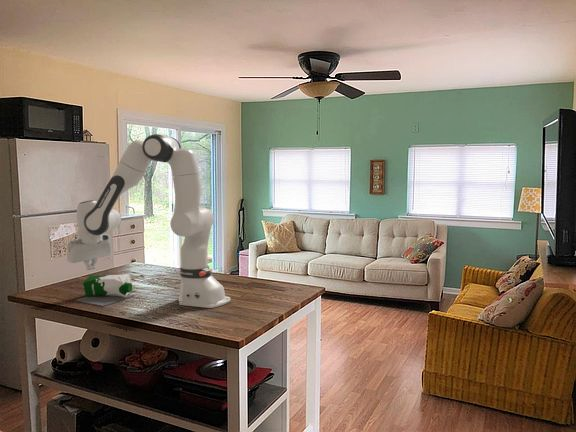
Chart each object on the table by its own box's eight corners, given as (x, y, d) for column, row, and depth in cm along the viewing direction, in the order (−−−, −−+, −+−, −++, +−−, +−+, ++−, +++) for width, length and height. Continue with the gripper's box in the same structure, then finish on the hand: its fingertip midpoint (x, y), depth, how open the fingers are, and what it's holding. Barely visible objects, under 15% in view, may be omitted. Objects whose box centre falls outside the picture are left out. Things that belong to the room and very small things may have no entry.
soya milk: (81, 281, 204) (126, 281, 202) (91, 272, 212) (134, 271, 210) (85, 299, 206) (129, 299, 205) (94, 289, 215) (137, 289, 213)
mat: (133, 296, 207) (133, 295, 207) (102, 306, 194) (102, 305, 194) (106, 291, 216) (106, 290, 216) (75, 300, 202) (75, 299, 202)
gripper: (72, 242, 195) (74, 275, 197) (112, 235, 213) (114, 265, 214) (62, 241, 198) (64, 273, 200) (103, 234, 216) (105, 264, 218)
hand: (90, 269), depth 207 cm, fingers closed
